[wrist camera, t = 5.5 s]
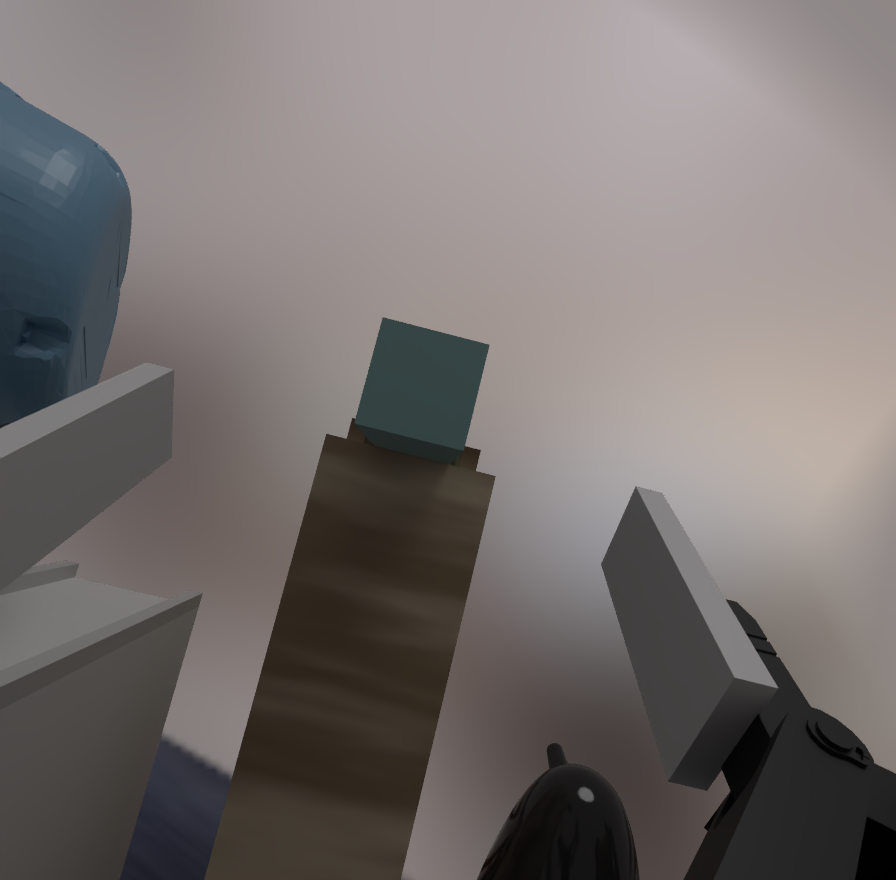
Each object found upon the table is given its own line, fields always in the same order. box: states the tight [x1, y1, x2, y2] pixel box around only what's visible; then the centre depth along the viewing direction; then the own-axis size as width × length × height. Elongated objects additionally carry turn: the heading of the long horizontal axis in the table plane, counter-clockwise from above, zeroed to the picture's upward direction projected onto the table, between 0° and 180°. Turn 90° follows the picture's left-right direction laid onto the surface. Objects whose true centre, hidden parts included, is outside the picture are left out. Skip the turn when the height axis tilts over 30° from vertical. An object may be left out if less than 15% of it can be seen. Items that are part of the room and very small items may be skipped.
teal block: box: [354, 318, 489, 464], centre depth 28 cm, size 22×4×4 cm, turn 3°
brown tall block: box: [204, 418, 495, 880], centre depth 29 cm, size 12×8×31 cm, turn 3°
